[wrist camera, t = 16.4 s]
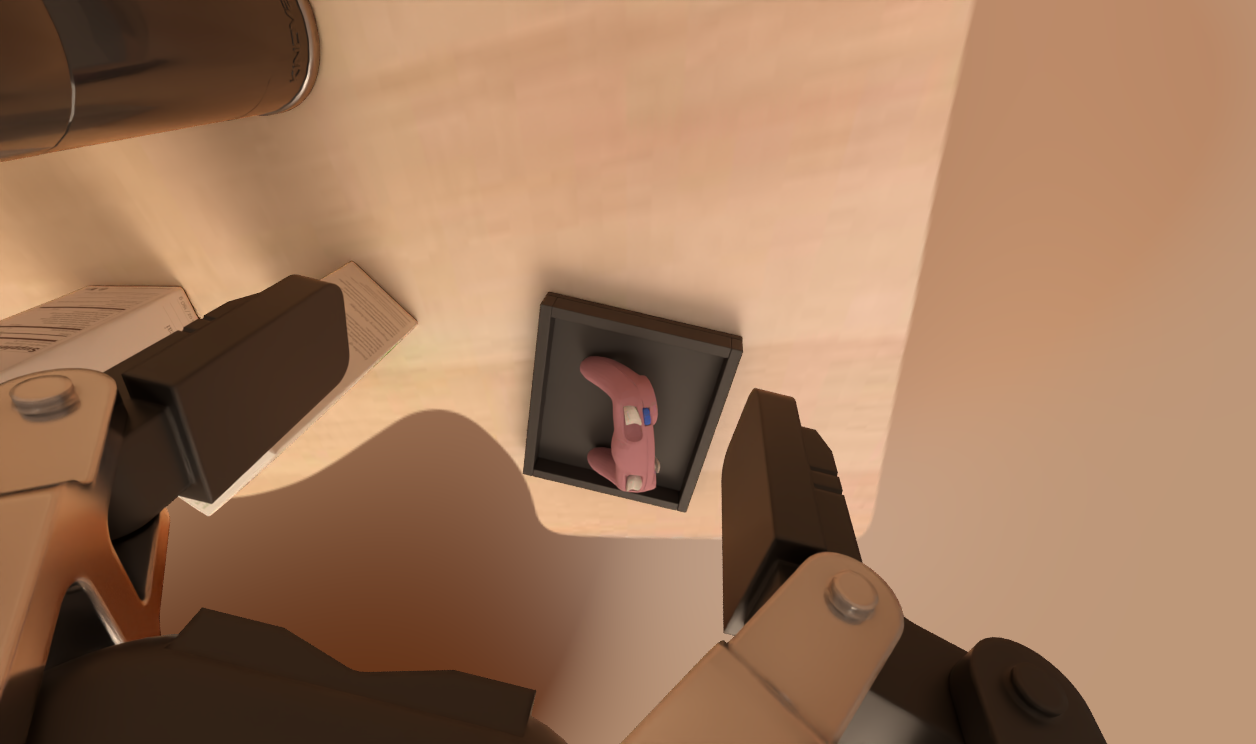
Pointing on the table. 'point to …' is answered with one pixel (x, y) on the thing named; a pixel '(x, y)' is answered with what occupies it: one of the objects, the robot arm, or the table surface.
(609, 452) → the video game controller
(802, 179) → the table surface
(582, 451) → the tray
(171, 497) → the robot arm
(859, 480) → the table surface
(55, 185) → the table surface
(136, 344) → the rectangular carton
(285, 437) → the cosmetic box
